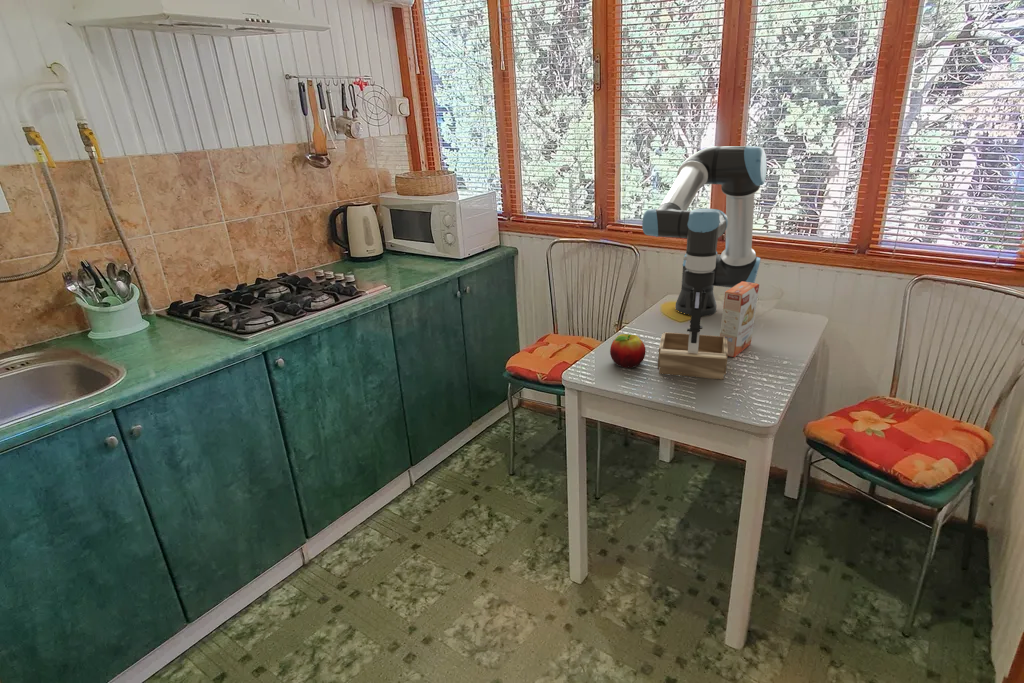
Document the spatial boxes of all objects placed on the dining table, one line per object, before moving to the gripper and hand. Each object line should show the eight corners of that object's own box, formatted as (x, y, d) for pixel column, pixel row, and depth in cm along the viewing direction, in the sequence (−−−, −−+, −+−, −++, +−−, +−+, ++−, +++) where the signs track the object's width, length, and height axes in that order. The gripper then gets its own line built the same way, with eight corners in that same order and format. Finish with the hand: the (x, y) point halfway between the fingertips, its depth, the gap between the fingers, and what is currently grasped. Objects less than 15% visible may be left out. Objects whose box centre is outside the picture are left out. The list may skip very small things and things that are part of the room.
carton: (661, 354, 181) (662, 331, 178) (724, 359, 175) (726, 335, 172) (657, 373, 168) (658, 349, 165) (725, 380, 163) (728, 354, 160)
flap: (659, 352, 158) (659, 353, 158) (726, 357, 153) (726, 359, 153) (661, 348, 164) (661, 350, 164) (725, 353, 159) (725, 355, 159)
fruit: (652, 366, 174) (654, 335, 170) (624, 374, 169) (626, 343, 165) (629, 354, 182) (630, 325, 179) (602, 362, 178) (603, 332, 174)
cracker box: (735, 358, 176) (743, 294, 168) (716, 354, 180) (723, 291, 172) (752, 344, 186) (760, 283, 178) (734, 340, 189) (741, 280, 182)
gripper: (685, 262, 155) (679, 342, 164) (683, 275, 144) (677, 360, 153) (714, 263, 153) (707, 344, 162) (715, 276, 142) (706, 362, 151)
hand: (692, 352), depth 157 cm, fingers closed
